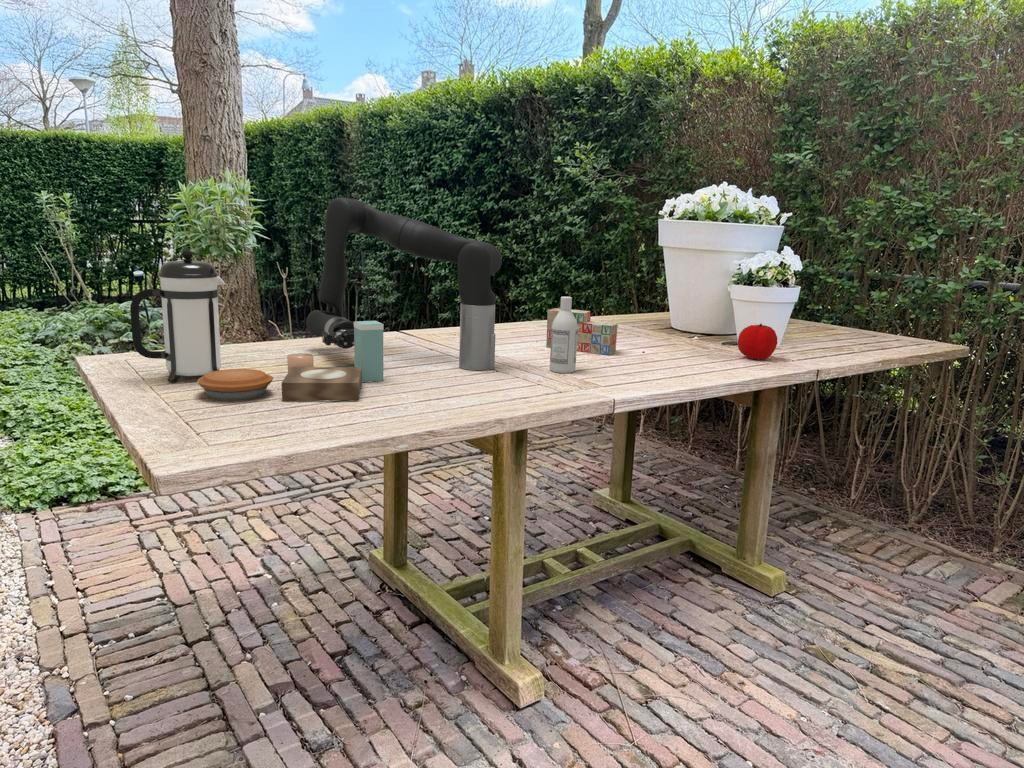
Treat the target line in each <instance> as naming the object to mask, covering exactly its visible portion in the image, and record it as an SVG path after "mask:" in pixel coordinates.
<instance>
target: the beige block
mask: <svg viewBox="0 0 1024 768" xmlns="http://www.w3.org/2000/svg"><path fill="white" fill-rule="evenodd" d="M286 363H287V373H288V372H289V371H290V369H291V368H292V367H315V366H314V355H313V354H310V353H304V352H303V353H302V352H301V353H290V354H287V356H286Z"/></svg>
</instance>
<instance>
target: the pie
mask: <svg viewBox="0 0 1024 768" xmlns="http://www.w3.org/2000/svg"><path fill="white" fill-rule="evenodd" d="M273 379H274V376H272V375H270V374H268V373H266V372H265V371H262V370H259V369H255V368H254V369H252V368H230V369H219V371H214V372H210V373H208V374H206V375H201V377H199V378H198V379H197V384H198V385H199V386H200V387H201V388H202V389H203V390H204V392H205V393H206V394H207V396H208V397H209V398H211V399H213V400H216V401H226V402H236V401H237V402H238V401H246V400H247V401H248V400H253V399H256V398H260V397H262V396H263V395H264V394H265V391H266V390H267V388H268V387H269V385H270V384H271V382H273Z"/></svg>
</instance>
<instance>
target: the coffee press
mask: <svg viewBox="0 0 1024 768" xmlns="http://www.w3.org/2000/svg"><path fill="white" fill-rule="evenodd" d="M193 255H194V254H193V252H192V250H189V249H184V250H182V252H181V257H182V258H184V259H183V260H172V261H168V262H165V263H163V264H162V265H161V266H160V267H159V268H160V269H159V271H157V276H158V278H159V280H160V288H159V289H157V288H156V289H154V288H153V289H152V288H147V289H144V290H140V291H139V292H137V293H136V294H135V295H134V296H133V298H132V300H131V303H130V309H129V311H130V323H131V324H130V327H131V328H130V329H131V336H132V343H133V347H134V349H135V350H136V352H137V353H138V354H139V355H141V356H142V357H144V358H147V359H153V360H155V359H156V360H159V359H160V360H161V359H162V360H165V366H166V369H167V371H168V373H169V375H168V377H167V382H168V383H173V384H176V383H177V382H178V380H179V379H180V378H181V377H193V376H194V377H196V376H197V377H198V376H199V377H200V376H204V375H206V374H208V373H210V372H214V371H219V370H221V367H222V356H221V335H220V334H221V332H220V318H219V298H218V297H219V294H220V293H219V288H218V286H225V285H226V283H225V282H224V279H222V278H221V277H220V276H219V272H217V270H216V268H215V266H214V265H213V264H211V263H209V262H206V261H202V260H201V261H200V260H192V258H193ZM152 297H160V298H161V307H162V308H161V311H162V324H163V327H162V328H163V336H164V337H163V339H164V340H163V341H164V350H160V351H159V350H154V351H153V350H148V349H147V348H145V346H144V345H143V343H142V336H141V335H142V334H141V332H142V331H141V322H140V321H141V319H140V304H141V303H142V301H143V300H144V299H147V298H152Z"/></svg>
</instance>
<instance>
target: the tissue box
mask: <svg viewBox="0 0 1024 768" xmlns="http://www.w3.org/2000/svg"><path fill="white" fill-rule="evenodd" d="M362 385H363V383H362V368H354V367H344V366H343V367H333V366H332V367H331V366H329V367H326V366H325V367H323V366H322V367H318V366H317V367H315V366H314V367H292V368H291V369H290V371H289V372H288V371H287V374H286V375H285V377H284V378H283V380H282V381H281V401H282V402H316V401H315V400H360V396H361V391H360V390H361V389H362ZM359 395H360V396H359ZM309 400H310V401H309Z"/></svg>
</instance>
